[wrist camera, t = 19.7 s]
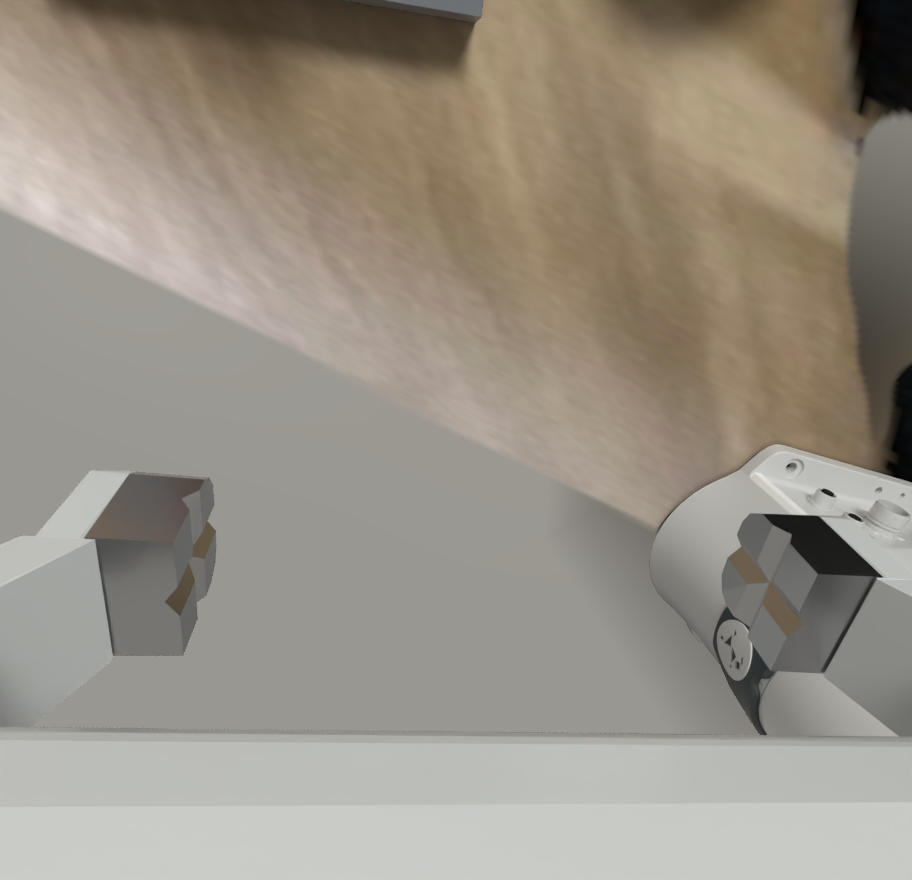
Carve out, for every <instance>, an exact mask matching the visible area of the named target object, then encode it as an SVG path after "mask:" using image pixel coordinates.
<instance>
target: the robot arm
mask: <svg viewBox="0 0 912 880" xmlns="http://www.w3.org/2000/svg"><path fill="white" fill-rule="evenodd" d="M790 463H791V464H790ZM788 464H790V466H788V467H786V466H787V465H788ZM213 506H214V494H213V484H212V482H211V480H210V478H207V477H194V476H182V475H170V474H159V473H146V472H132V471H123V470H103V469H97V470H92V471H90V472H88V473H87V475H86V476H85V477H84V478H83V479H82V480H81V482H80V483H79V484H78V485H77V486H76V488H75V489H74V490H73V491H72V492H71V494H70V495H69V496H68V497H67V499H66V500H65V501H64V502H63V503H62V504H61V506H60V507H59V508H58V509H57V510H56V511H55V513H54V514H53V515H52V516H51V517H50V519H49V520H48V521H47V522H46V523H45V524H44V526H43V527H42V528H41V529H40V530H39V532H38V533H37V534H36V535H35V536H20V537H18V538H15V539H13V540H11V541H8V542H6V543H3V544H1V545H0V880H912V483H911V482H908V481H904V480H901V479H898V478H894V477H891V476H887V475H884V474H881V473H877V472H874V471H870V470H867V469H863V468H860V467H857V466H853V465H850V464H846V463H843V462H840V461H836V460H833V459H829V458H826V457H822V456H819V455H816V454H812V453H809V452H805V451H802V450H799V449H795V448H792V447H788V446H785V445H780V444H776V445H771V446H769V447H767V448H765V449H764V450H762V451H761V452H759V453H758V454H757V455H756V456H754V457H753V458H752V459H751V460H750V461H749V462H747V463H746V464H745V465H744V466H743V467H742V468H741V469H740V470H738V471H736V472H734V473H732V474H730V475H728V476H726V477H724V478H722V479H719V480H717V481H715V482H713V483H711V484H709V485H707V486H705V487H703V488H702V489H700V490H698V491H697V492H695V493H694V494H692V495H691V496H690V497H688V498H687V499H686V500H685V501H684V502H682V503H681V504H680V505H679V506H678V507H677V508H676V509H675V510H674V511H673V512H672V513H671V515H670V516H669V517H668V518H667V520H666V521H665V522H664V524H663V525H662V527H661V528H660V530H659V532H658V534H657V536H656V538H655V540H654V543H653V546H652V550H651V554H650V575H651V579H652V582H653V585H654V587H655V589H656V590H657V592H658V593H659V595H660V596H661V597H662V598H663V599H664V600H665V601H666V602H667V603H668V604H669V605H670V606H671V607H673V608H674V609H675V611H677V613H678V614H679V615H680V616H681V617H682V618H683V619H684V620H685V622H686V623H687V626H688V627H689V629H690V631H691V632H692V634H693V635H694V636H695V637H696V639H697V640H698V641H700V642H703V643H704V645H705V646H706V647H707V648H708V649H709V651H710V652H711V654H712V655H713V656H714V658H715V659H716V660H717V661H718V663H719V664H720V665H721V668H722V670H723V672H724V674H725V677H726V679H727V681H728V684H729V686H730V688H731V689H732V691H733V693H734V695H735V696H736V698H737V699H738V701H739V703H740V705H741V706H742V708H743V709H744V711H745V712H746V715H747V717H748V718H749V720H750V722H751V723H753V725H754V727H755V728H756V730H757V731H758V733H759V734H760V735H709V734H707V735H706V734H628V733H626V734H624V733H546V732H545V733H543V732H540V733H539V732H451V731H450V732H449V731H345V730H344V731H343V730H239V729H238V730H237V729H236V730H235V729H234V730H233V729H153V728H152V729H150V728H81V727H78V728H77V727H75V728H73V727H31V726H32V725H33V724H35V723H36V722H37V721H38V720H39V719H41V718H42V717H43V716H44V715H46V714H47V713H48V712H49V711H51V710H52V709H53V708H54V707H55V706H57V705H58V704H59V703H60V702H62V701H63V700H64V699H65V698H66V697H68V696H69V695H70V694H71V693H73V692H74V691H75V690H76V689H78V688H79V687H80V686H81V685H82V684H84V683H85V682H86V681H87V680H89V679H90V678H91V677H92V676H93V675H95V674H96V673H97V672H98V671H99V670H101V669H102V668H103V667H104V666H106V665H107V664H108V663H109V662H111V661H112V660H113V656H119V655H120V656H160V655H162V656H169V655H171V656H181V655H184V652H185V649H186V647H187V644H188V642H189V639H190V637H191V634H192V631H193V629H194V627H195V624H196V621H197V619H198V618H197V602H198V601H199V600H201V599H202V598H204V597H205V596H206V595H207V592H208V589H209V587H210V584H211V581H212V576H213V571H214V566H215V559H216V531H215V529H214V528H213V527H212V526H211V525H210V524H209V523H208V521H207V520H208V518H209V516H210V513H211V511H212V509H213Z"/></svg>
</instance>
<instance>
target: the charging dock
mask: <svg viewBox="0 0 912 880" xmlns="http://www.w3.org/2000/svg"><path fill="white" fill-rule="evenodd" d="M343 1H349V2H355V3H361V4H367V5H373V6H378V7H384V8H390V9H396V10H402V11H408V12H414V13H419V14H425V15H431V16H437V17H443V18H449V19H455V20H461V21H466V22H472V23H476V22H477V21H478V20H479V19H480V18H481V16H482V8H483V0H343Z"/></svg>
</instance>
